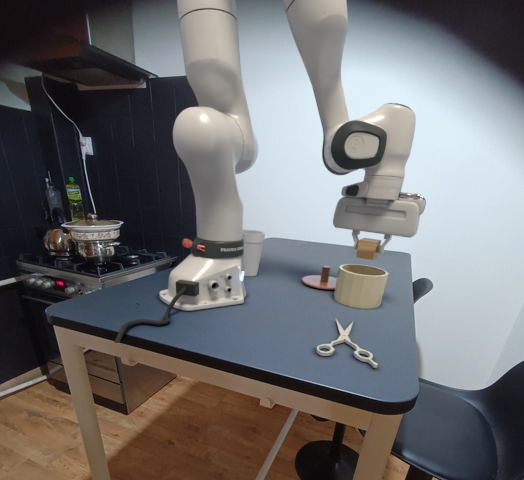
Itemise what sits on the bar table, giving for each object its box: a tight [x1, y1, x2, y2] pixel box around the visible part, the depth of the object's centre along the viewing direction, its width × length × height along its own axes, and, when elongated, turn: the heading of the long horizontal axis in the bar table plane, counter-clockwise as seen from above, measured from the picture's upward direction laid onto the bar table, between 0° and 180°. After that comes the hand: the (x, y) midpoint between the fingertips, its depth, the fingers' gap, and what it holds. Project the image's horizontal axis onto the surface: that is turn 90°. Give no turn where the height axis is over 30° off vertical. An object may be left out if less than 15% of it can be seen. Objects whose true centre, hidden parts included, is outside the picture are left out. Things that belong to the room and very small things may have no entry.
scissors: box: [315, 318, 379, 369], centre depth 64 cm, size 11×1×20 cm
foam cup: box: [242, 229, 266, 277], centre depth 101 cm, size 10×9×13 cm
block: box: [355, 237, 382, 261], centre depth 81 cm, size 4×4×4 cm
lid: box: [301, 265, 337, 290], centre depth 98 cm, size 14×14×6 cm
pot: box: [333, 263, 390, 310], centre depth 85 cm, size 13×13×8 cm
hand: (367, 251), depth 81 cm, fingers closed on block, 4 cm apart
